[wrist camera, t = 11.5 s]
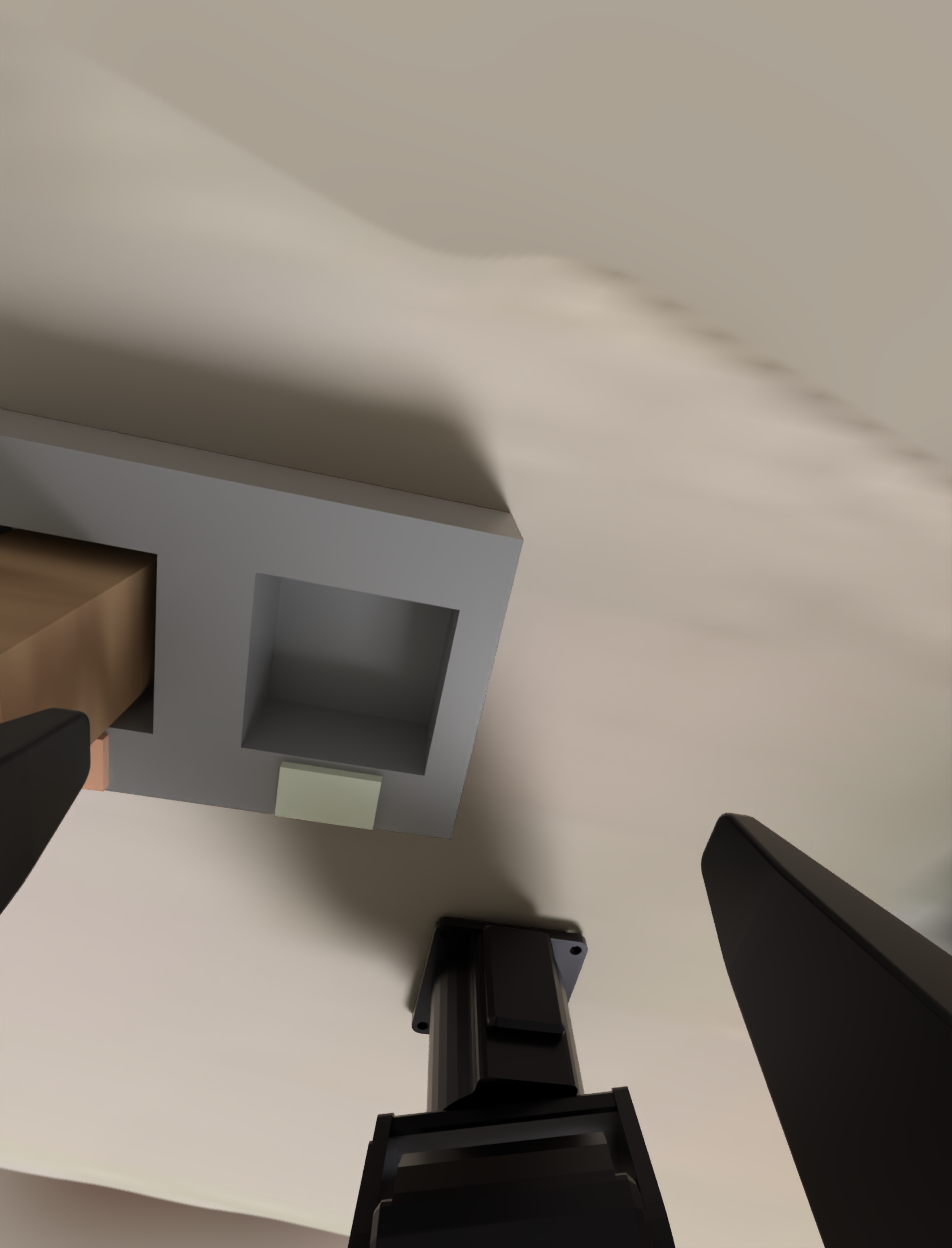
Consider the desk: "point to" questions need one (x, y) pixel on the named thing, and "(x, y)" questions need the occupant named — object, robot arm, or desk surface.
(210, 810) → the desk surface
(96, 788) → the socket strip
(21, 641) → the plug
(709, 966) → the desk surface
